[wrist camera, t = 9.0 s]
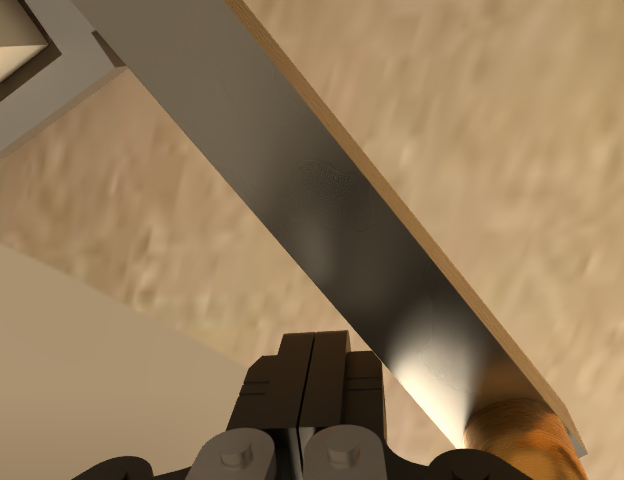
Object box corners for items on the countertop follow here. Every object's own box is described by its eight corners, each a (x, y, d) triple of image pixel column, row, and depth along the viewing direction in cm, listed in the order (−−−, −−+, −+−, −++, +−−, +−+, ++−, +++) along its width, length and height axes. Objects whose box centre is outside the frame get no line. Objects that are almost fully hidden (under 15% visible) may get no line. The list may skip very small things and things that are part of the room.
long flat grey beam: (-186, -313, 10) (-523, -515, 6) (-96, -465, 9) (-425, -801, 6) (473, 454, 14) (504, 614, 10) (581, 395, 13) (661, 546, 9)
